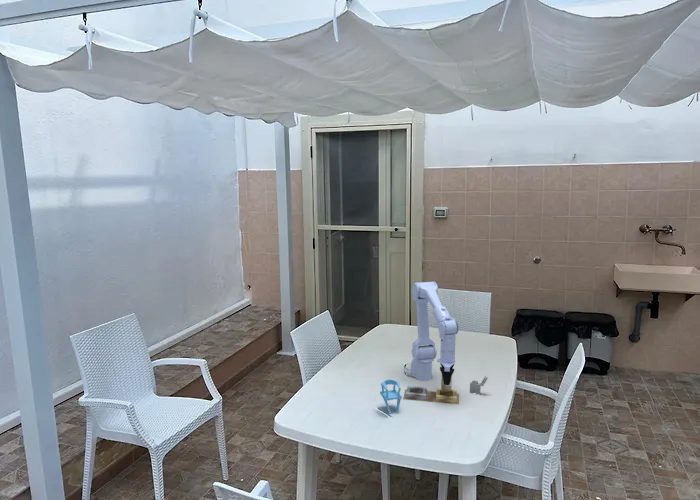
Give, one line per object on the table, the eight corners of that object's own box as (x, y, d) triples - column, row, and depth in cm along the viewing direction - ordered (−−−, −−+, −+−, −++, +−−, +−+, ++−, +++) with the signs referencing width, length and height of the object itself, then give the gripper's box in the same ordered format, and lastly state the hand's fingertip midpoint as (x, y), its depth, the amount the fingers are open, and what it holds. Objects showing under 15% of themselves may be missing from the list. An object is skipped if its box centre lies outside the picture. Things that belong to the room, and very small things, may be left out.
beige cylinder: (439, 389, 202) (439, 370, 201) (446, 386, 205) (446, 367, 204) (446, 392, 199) (446, 373, 198) (453, 390, 201) (454, 371, 200)
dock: (402, 401, 201) (403, 394, 200) (405, 391, 211) (405, 384, 210) (459, 406, 197) (459, 399, 196) (458, 396, 206) (459, 389, 206)
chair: (384, 417, 187) (385, 387, 185) (377, 408, 195) (377, 378, 193) (404, 415, 189) (404, 385, 188) (395, 405, 197) (396, 376, 195)
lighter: (469, 392, 210) (470, 374, 209) (470, 391, 211) (471, 373, 210) (486, 396, 206) (487, 377, 205) (487, 394, 208) (488, 376, 207)
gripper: (438, 343, 207) (437, 374, 209) (436, 355, 193) (436, 388, 195) (455, 344, 206) (454, 376, 208) (455, 356, 192) (454, 390, 194)
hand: (446, 382), depth 201 cm, fingers closed on beige cylinder, 4 cm apart
